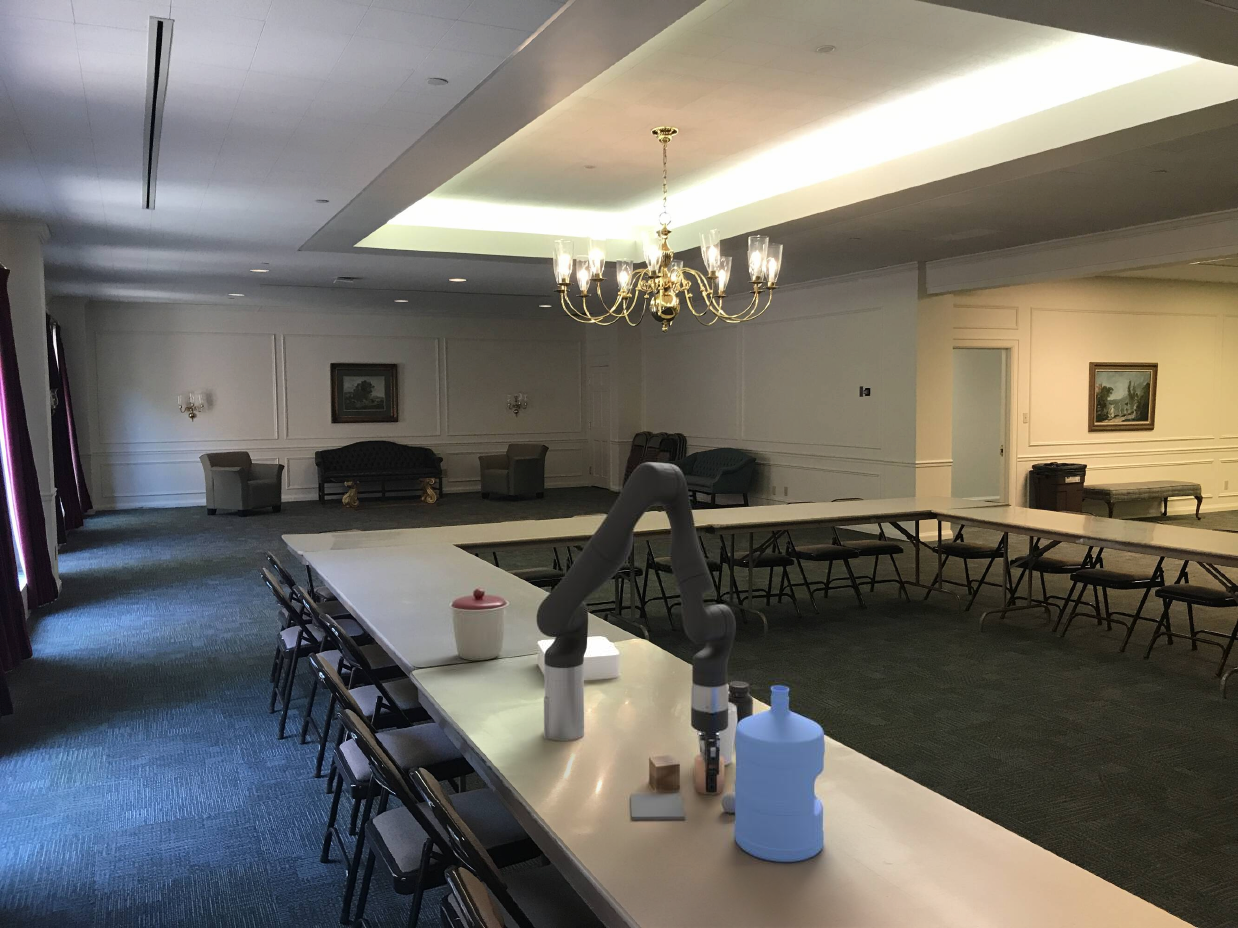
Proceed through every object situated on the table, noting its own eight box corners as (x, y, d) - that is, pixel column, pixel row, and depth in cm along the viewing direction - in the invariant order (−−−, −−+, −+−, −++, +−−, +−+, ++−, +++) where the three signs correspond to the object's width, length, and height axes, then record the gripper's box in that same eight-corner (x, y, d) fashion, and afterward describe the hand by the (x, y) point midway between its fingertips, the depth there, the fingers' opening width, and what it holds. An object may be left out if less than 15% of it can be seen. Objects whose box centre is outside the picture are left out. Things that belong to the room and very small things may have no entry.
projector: (626, 677, 260) (626, 654, 259) (548, 684, 254) (548, 659, 254) (608, 657, 280) (608, 635, 279) (536, 663, 274) (536, 640, 274)
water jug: (765, 872, 152) (766, 707, 150) (718, 831, 166) (719, 681, 164) (841, 853, 158) (844, 695, 156) (790, 815, 173) (791, 670, 171)
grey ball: (722, 816, 172) (722, 797, 172) (720, 807, 176) (720, 789, 176) (741, 816, 172) (741, 797, 172) (738, 807, 176) (739, 789, 176)
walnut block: (656, 790, 184) (656, 766, 184) (649, 780, 189) (649, 757, 189) (679, 787, 185) (679, 763, 185) (671, 777, 190) (671, 754, 190)
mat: (631, 819, 171) (631, 816, 171) (630, 796, 181) (630, 793, 181) (684, 819, 171) (684, 816, 171) (681, 796, 181) (681, 793, 181)
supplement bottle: (751, 740, 211) (752, 689, 210) (722, 737, 212) (722, 687, 212) (753, 729, 218) (754, 680, 217) (724, 727, 219) (725, 678, 218)
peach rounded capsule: (695, 794, 182) (695, 764, 182) (693, 781, 188) (693, 753, 188) (725, 793, 182) (725, 764, 182) (722, 781, 188) (722, 753, 188)
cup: (710, 771, 193) (710, 716, 192) (687, 757, 201) (687, 703, 200) (745, 763, 197) (745, 709, 196) (721, 749, 205) (722, 697, 204)
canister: (443, 652, 285) (442, 585, 284) (499, 645, 293) (498, 580, 291) (458, 667, 269) (457, 597, 268) (517, 660, 277) (516, 591, 275)
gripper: (688, 692, 191) (688, 770, 192) (694, 716, 177) (694, 800, 178) (723, 692, 191) (723, 770, 192) (732, 716, 177) (732, 800, 178)
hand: (709, 784), depth 185 cm, fingers closed on peach rounded capsule, 6 cm apart
